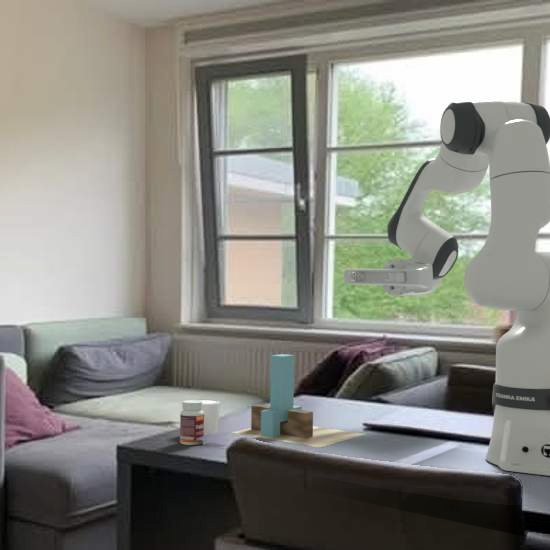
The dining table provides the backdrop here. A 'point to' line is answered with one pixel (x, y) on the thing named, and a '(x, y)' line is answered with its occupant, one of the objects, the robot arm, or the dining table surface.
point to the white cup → (210, 416)
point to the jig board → (312, 441)
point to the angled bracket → (279, 395)
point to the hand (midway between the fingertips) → (369, 276)
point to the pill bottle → (191, 422)
